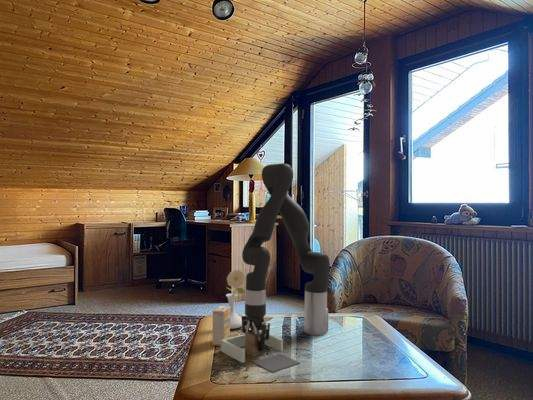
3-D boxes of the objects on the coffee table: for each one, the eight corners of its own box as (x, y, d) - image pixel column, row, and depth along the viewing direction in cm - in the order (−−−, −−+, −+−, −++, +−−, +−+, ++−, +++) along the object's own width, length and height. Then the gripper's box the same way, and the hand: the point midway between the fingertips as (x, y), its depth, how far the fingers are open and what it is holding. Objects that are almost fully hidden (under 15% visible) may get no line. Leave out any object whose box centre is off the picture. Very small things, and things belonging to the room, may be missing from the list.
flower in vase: (212, 327, 171) (213, 269, 171) (229, 321, 180) (230, 266, 181) (236, 333, 163) (236, 272, 164) (252, 326, 173) (253, 269, 173)
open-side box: (260, 340, 155) (260, 330, 155) (283, 350, 145) (283, 339, 145) (220, 351, 144) (220, 339, 144) (242, 362, 133) (242, 350, 134)
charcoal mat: (280, 354, 141) (280, 353, 141) (299, 363, 134) (299, 362, 134) (253, 362, 134) (253, 361, 134) (272, 372, 126) (272, 371, 126)
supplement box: (224, 346, 148) (224, 311, 149) (211, 345, 149) (212, 310, 150) (230, 339, 157) (230, 305, 157) (218, 338, 158) (219, 305, 158)
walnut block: (256, 349, 147) (256, 329, 147) (264, 353, 143) (264, 333, 143) (245, 352, 143) (245, 332, 143) (253, 356, 140) (253, 336, 140)
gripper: (276, 304, 140) (275, 352, 140) (251, 296, 151) (251, 340, 151) (259, 307, 135) (258, 357, 135) (235, 299, 146) (234, 345, 146)
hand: (254, 348), depth 143 cm, fingers open, 6 cm apart
